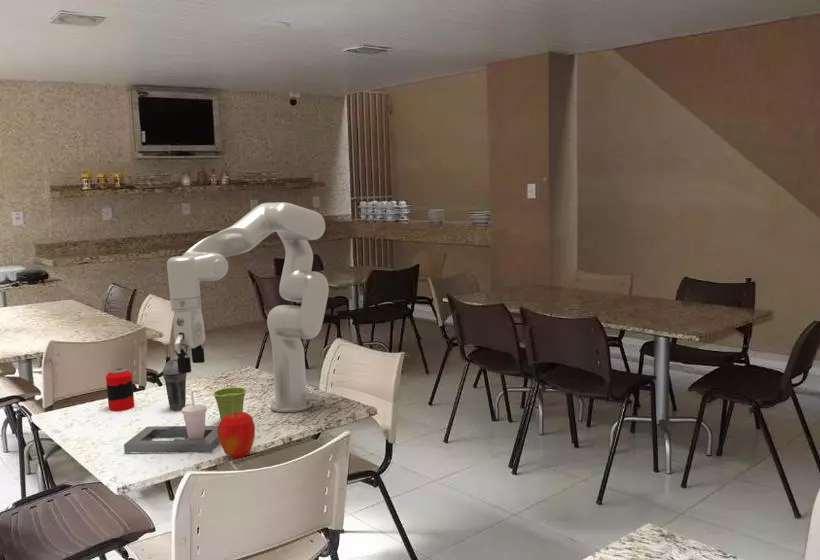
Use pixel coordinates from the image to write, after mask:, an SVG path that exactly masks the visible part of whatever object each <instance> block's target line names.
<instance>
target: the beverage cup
mask: <svg viewBox="0 0 820 560" xmlns="http://www.w3.org/2000/svg"><path fill="white" fill-rule="evenodd" d="M169 347H170V348H169V349H170V355H171V356H170V357H171V359H170V360H168V361H166V363H165V364H164V366H163V368H162V376H163V379H164V382H165V383H164V384H165V388H166V394H167V399H168V400H167V401H168V405H169V410H170V411H173V412H177V411H182V409H183V408H184V407H186V402H187V401H186V399H187V397H186V394H187V393H186V392H187V391H186V390H187V383H186V382H187V374H188V373H179V371H178V361H177V358H176V359H175V358H174V354H173V346H169Z"/></svg>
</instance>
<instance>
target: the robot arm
mask: <svg viewBox="0 0 820 560" xmlns="http://www.w3.org/2000/svg"><path fill="white" fill-rule="evenodd" d="M325 231H326V222H325V219H324V217H323V216H322V214H320V213H319V212H317V211H316V210H313V209H310V208H306V207H303V206H300V205H296V204H293V203H290V202H285V201H284V202H282V201H281V202H264V203H260V204H259V205H257V206H255V207H254V208H253V209H251V210H250V211H249V212H247V214H246V215H244V216H243V217H241V219H239V220H237V221H236V222H235V223H234V224H233V225H231V226H229V227H227V228H225V229H222V230H220V231H218V232H215V233H214V234H211V235H209V236H207V237H205V238H203V239H201V240H200V241H198V242H197V243H195V244H193V246H191V247H190V248H189V249H188V250H186V251H185V252H184V253H183V254H182V255H181V256H180V255H178V256H173V257H169V259H167V261H166V269H167V279H168V280H167V281H168V287H169V288H168V289H169V300H170V308H171V312H173V337H174V343H173V344H174V345H173V346H174V349H175V351H174V352H175V354H176V359H177V361H178V371H179V373H187V374H189V373H192V365H191V362H192V363H193V364H202V363H203V364H204V363H205V362H206V360H205V351H204V345H205V344H204V343H205V341H206V338H207V337H206V329H205V324H204V316H203V313H202V300H201V299H202V298H201V288H200V287H201V286H200V282H211V281H212V282H215V281H219V280H221V279H223V278H224V277H225V276H226V275H227V273H228V272H229V262H228V260H227V258H228V257H232V256H239V255H241V254H244V253H248V252H249V251H252V250H253V249H254V248H255V247H257V246H258V245H259V244H260V243H261V242H262V241H263V240H265V239H266V238H267V237H268V236H269V235H271V234H272V233H275V232H276V234H277V235H278V237H279V239H280V240H281V242H282V244H283V246H284V247H283V248H284V250H285V251H284V252H285V257H284V263H283V267H282V272H281V278H280V281H279V289H278V291H279V295H280V297H281V298H282V299H283V300H285V301H289V302H295V303H301V305H290V304H281V305H276V306H274V307H273V308H272V309H271V310H270V311H269V313H268V314H267V318H266V323H267V329H268V333H269V337H270V341H271V342H270V343H271V349H272V366H273V381H274V382H273V383H274V395H275V396H274V397H275V398H274V399H275V400H274V401H273V402H271V404H270V409H271V410H272V411H273V412H277V413H296V412H302V411H305V410H308V409H310V408H311V407H312V406H313V402H314V403H315V402H321V398H322V397H321V395H320V394H318V393H310V390H309V389H307V379H306V361H305V349H304V348H305V347H304V344H303V342H302V340H304V339H305V340H312V339H314V338H316V337H317V336H318V335H319V333H320V332H321V330H322V326H323V323H324V319H325V313H326V308H327V303H328V298H329V294H330V293H329V290H330V288H329V283H328V279H327V277H326V276H325V275H324V274H322V273H321V272H318V271H312V269H313V262H314V254H313V250H312V247H311V245H310V243H309V241H314V240H318V239H320V238H321V237H322V236H323V235H324V234H325ZM190 350H191V356H190Z"/></svg>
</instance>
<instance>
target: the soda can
mask: <svg viewBox="0 0 820 560" xmlns="http://www.w3.org/2000/svg"><path fill="white" fill-rule="evenodd" d="M132 374H133V373H132V371H130V370H129V369H128V368H124V367H123V368H115V369H111V370H108V373H106V375H105V381H106V383H105V384H106V393H107V404H108V409H109V410H110V411H111V412H121V411H122V410H123V411H127V410H130V409H133V408H134V406H135V397H134V395H135V394H134V386H133V375H132ZM123 411H122V412H123Z"/></svg>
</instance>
